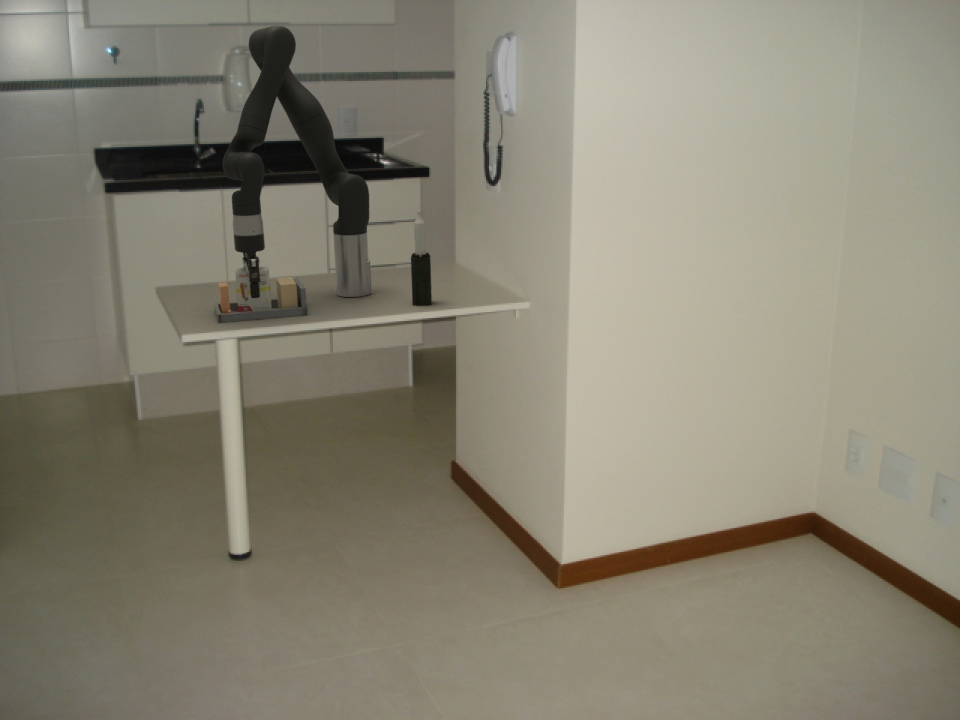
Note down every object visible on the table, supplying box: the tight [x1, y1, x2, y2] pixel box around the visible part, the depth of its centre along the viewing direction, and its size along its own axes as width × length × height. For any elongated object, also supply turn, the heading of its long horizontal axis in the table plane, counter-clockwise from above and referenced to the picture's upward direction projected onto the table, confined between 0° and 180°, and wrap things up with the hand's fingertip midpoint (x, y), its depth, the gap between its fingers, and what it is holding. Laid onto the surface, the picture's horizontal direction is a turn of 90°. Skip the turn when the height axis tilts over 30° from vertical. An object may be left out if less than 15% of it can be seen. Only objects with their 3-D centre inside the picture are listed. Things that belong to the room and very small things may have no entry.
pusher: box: [218, 281, 232, 314], centre depth 257 cm, size 2×10×8 cm, turn 18°
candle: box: [410, 209, 433, 306], centre depth 265 cm, size 5×5×25 cm
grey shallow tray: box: [213, 278, 308, 324], centre depth 260 cm, size 22×13×7 cm, turn 108°
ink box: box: [234, 266, 273, 312], centre depth 259 cm, size 9×5×12 cm, turn 102°
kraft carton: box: [275, 276, 298, 309], centre depth 262 cm, size 4×9×8 cm, turn 18°
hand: (253, 294), depth 259 cm, fingers open, 8 cm apart
